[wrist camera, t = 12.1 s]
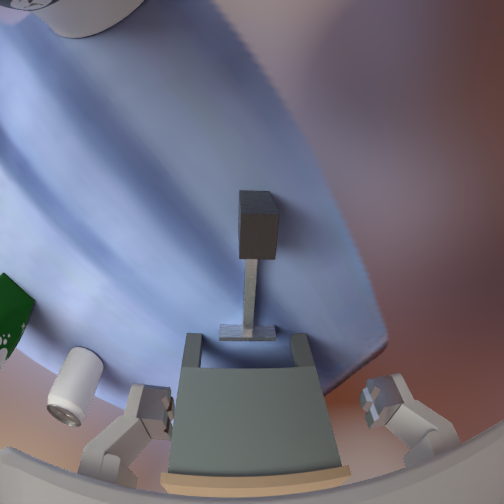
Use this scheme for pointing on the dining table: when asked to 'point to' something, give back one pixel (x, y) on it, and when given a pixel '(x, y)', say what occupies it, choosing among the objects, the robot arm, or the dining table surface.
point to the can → (75, 386)
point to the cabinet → (251, 429)
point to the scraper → (253, 260)
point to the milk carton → (12, 316)
